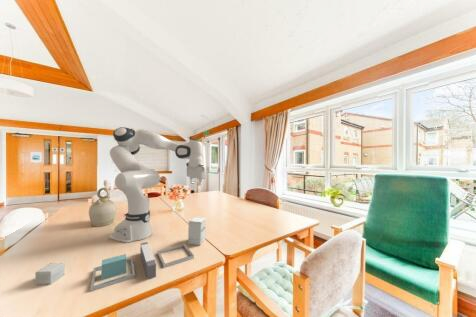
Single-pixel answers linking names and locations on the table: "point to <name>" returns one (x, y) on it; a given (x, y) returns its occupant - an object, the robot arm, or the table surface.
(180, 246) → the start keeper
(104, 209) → the jug
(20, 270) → the table surface
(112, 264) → the teal rectangular block
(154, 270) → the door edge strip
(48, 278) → the small box
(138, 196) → the robot arm
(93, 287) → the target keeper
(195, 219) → the supplement box
